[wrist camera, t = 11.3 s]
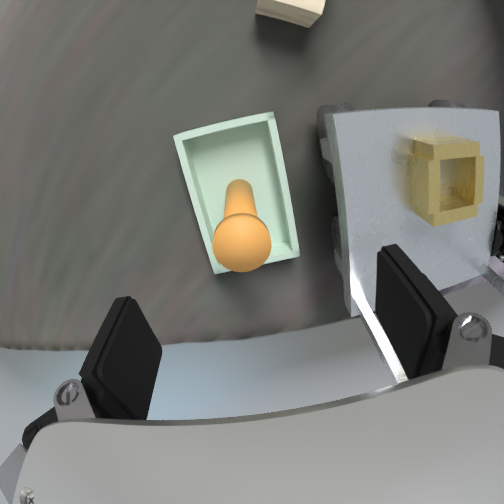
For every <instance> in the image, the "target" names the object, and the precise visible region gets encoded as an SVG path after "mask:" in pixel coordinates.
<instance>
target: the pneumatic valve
mask: <svg viewBox="0 0 504 504" xmlns="http://www.w3.org/2000/svg"><path fill="white" fill-rule="evenodd" d="M494 255H495V256H496V257H497V258H498V259H500V261H502V262H503V263H504V196H502V197H500V196H499V199H498V209H497V218H496V225H495V232H494V239H493V245H492V250H491V255H490V256H494Z"/></svg>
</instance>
